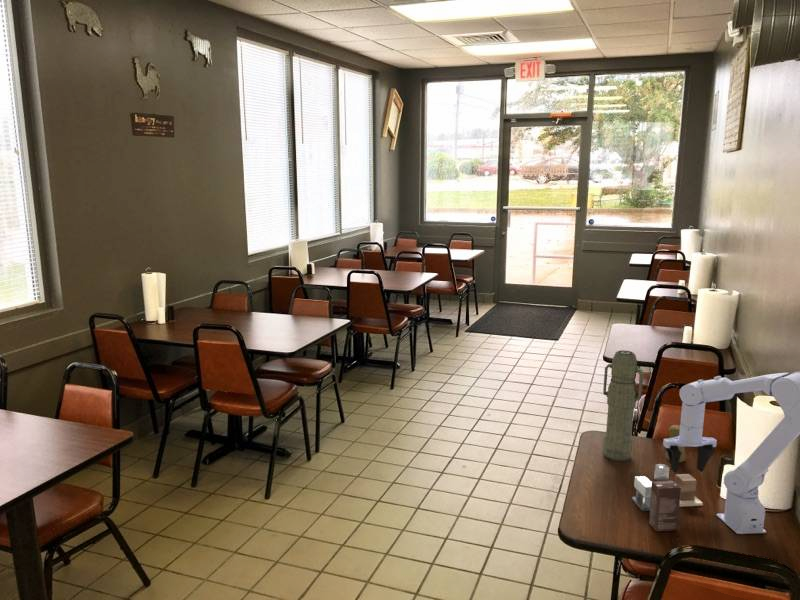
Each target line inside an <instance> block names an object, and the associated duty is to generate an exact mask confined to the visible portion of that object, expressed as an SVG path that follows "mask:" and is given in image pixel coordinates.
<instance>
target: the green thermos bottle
mask: <svg viewBox="0 0 800 600" xmlns="http://www.w3.org/2000/svg"><path fill="white" fill-rule="evenodd" d="M609 368H610V369H611V372H610V375H611V378H610V383H609V384H607V382H608V371H609ZM637 373H638V374H639V379H638V389H637V386H636V384H637V383H636V378H637ZM644 374H645V373H644V371H643V369H642V368H639V367H638V359H637V356H636V354H635V353H634V352H632V351H630V350H622V349H621V350H617V351H615V352H614V355H613V358H612V361H611V363H608V364H607V365H605V367H604V377H603V390H602V391H603V396H606V398H607V399H606V403H607V415H606V416H607V417H606V431H605V434H604V436H603V456H604V457H605V456H606V457H605V458H607V459H609V458H610V459H609V460H612V461H615V462H616V461H617V462H625V461H629V460H631V459H632V452H633V444H634V443H633V442H634V440H633V435H632V434H633V433H632V432H633V425H634V424H633V422H634V410H635V407H636V405H637V401H639V400H641V399H642V391H643V384H644V383H643V382H644ZM607 385H608V387H607Z"/></svg>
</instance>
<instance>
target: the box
mask: <svg viewBox="0 0 800 600" xmlns="http://www.w3.org/2000/svg"><path fill="white" fill-rule="evenodd" d="M651 482H652V486H651V501H650V511H649V517H648V518H649V519H648V521H649V522H648V524H649V525H650V526H651V528H653V530H655V532H666V531H671V532H672V531H679V529H678V528H679V514H680V507H679V505H680V492H681V487H680V486H679V485H678V484H676V483H675V480H668V481H657V480H655V481H651Z"/></svg>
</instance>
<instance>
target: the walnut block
mask: <svg viewBox="0 0 800 600" xmlns="http://www.w3.org/2000/svg"><path fill="white" fill-rule="evenodd" d="M674 475H675V476H674V482H675V483H676V484H678V485H679V486H680V487H681V492H680V500H681V501H690V500H695V497H696V489H697V481H698V480H697V479H696V478H695V477H693V476H692V475H691V474H690V473H681V474H680V473H678V474H677V473H676V474H674Z"/></svg>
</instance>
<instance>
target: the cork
mask: <svg viewBox="0 0 800 600" xmlns="http://www.w3.org/2000/svg"><path fill="white" fill-rule="evenodd" d="M668 434H669V438H674V437H678V436H679V434H680V424H679V425H678V424H673V425H671V426H670V427H669V429H668ZM678 448H679V451H680V452H682V454H681V456H680V459H679V463H683V461H684V462H686V455H685V454H686V453H685V450H686V449H685V448H686V447H678ZM664 457H665V459H666V460H667V459H668V461H670V459H669V456H668V453H667V451H666V450H665V455H664Z"/></svg>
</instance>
